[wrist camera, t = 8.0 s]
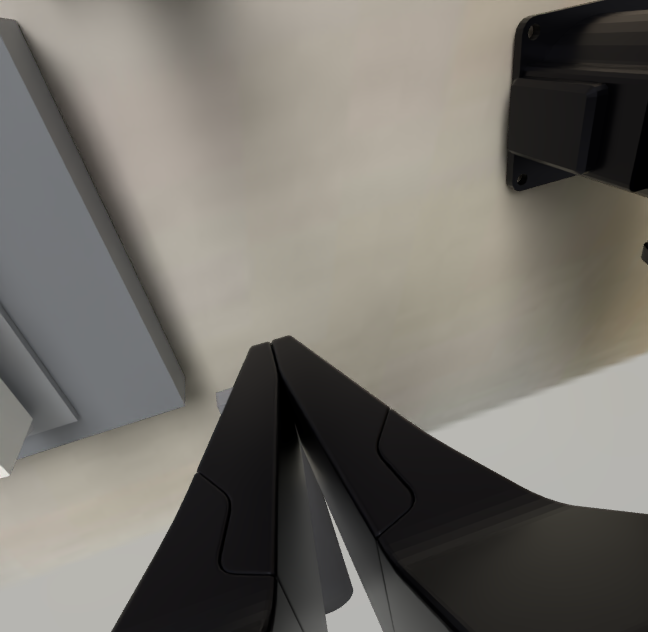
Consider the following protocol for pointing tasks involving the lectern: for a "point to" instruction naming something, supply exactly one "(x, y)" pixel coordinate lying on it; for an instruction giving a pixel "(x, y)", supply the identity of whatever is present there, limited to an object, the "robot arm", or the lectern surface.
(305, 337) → the lectern surface
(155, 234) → the lectern surface
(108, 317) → the breaker panel
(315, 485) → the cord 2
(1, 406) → the breaker paddles
